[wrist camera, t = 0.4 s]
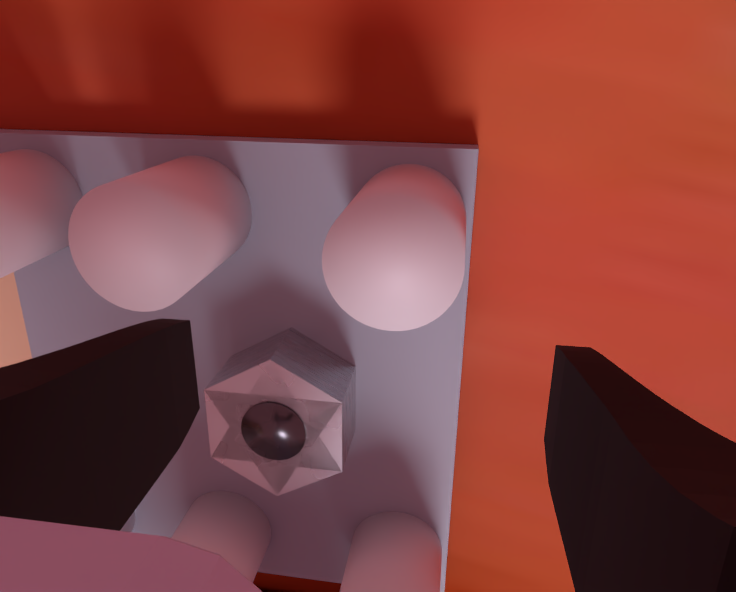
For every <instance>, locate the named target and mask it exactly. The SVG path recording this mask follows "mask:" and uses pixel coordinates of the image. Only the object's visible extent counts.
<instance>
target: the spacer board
mask: <svg viewBox="0 0 736 592" xmlns="http://www.w3.org/2000/svg"><path fill="white" fill-rule="evenodd" d="M478 150H479V149H478V145H471V144H441V143H411V142H381V141H351V140H321V139H291V138H260V137H230V136H200V135H170V134H140V133H110V132H80V131H50V130H20V129H0V368H1V367H5V366H8V365H12V364H16V363H19V362H22V361H25V360H29V359H32V358H35V357H38V356H41V355H44V354H48V353H51V352H54V351H57V350H60V349H63V348H67V347H70V346H73V345H76V344H79V343H81V342H84V341H87V340H90V339H93V338H96V337H99V336H102V335H105V334H108V333H111V332H114V331H117V330H119V329H123V328H126V327H129V326H132V325H135V324H139V323H142V322H146V321H150V320H155V319H161V318H164V319H179V320H190V324H191V333H192V342H193V351H194V359H195V368H196V377H197V386H198V395H199V404H200V409H199V411H198V413H197V415H196V417H195V419H194V421H193V423H192V426H191V428H190V430H189V432H188V433H187V435H186V437H185V439H184V441H183V443H182V445H181V447H180V448H179V450H178V451H177V452H176V454H175V455H174V457H173V458H172V460H171V461H170V462H169V464H168V465H167V467H166V468H165V469H164V471H163V472H162V474H161V475H160V477H159V478H158V479H157V481H156V482H155V483H154V485H153V486H152V488H151V489H150V490H149V492H148V493H147V494H146V496H145V497H144V499H143V500H142V501H141V503H140V504H139V505H138V507H137V508H136V509H135V511H134V512H133V514H132V515H131V516H130V518H129V519H128V520H127V522H126V523H125V525H124V526H123V527H122V529H121V530H120V531H125V532H133V533H141V534H149V535H157V536H165V537H169V538H172V539H175V540H178V541H181V542H184V543H187V544H190V545H193V546H196V547H199V548H202V549H205V550H208V551H211V552H214V553H217V554H220V555H221V556H222V557H223V558H224V559H225V560H227V561H228V562H229V563H230V564H231V565H232V566H233V567H235V568H236V569H237V570H238V571H239V572H240V573H242V574H243V575H244V576H245V577H246V578H247V579H248V580H250V581H251V582H252V583H253V581H254V579H255V576H256V574H257V572H261V573H269V574H276V575H283V576H290V577H298V578H305V579H312V580H319V581H327V582H334V583H341V588H340V592H444V589H445V576H446V564H447V551H448V538H449V525H450V512H451V499H452V486H453V473H454V460H455V447H456V434H457V421H458V408H459V395H460V382H461V370H462V357H463V344H464V331H465V318H466V305H467V292H468V279H469V266H470V253H471V240H472V227H473V214H474V201H475V188H476V176H477V163H478ZM290 327H293V328H294V329H296V330H297V331H299V332H301V333H302V334H304V335H306V336H307V337H309V338H311V339H312V340H314V341H316V342H317V343H319V344H320V345H322V346H324V347H325V348H327V349H329V350H330V351H332V352H334V353H335V354H337V355H339V356H340V357H342V358H344V359H345V360H347V361H348V362H350V363H352V364H353V365H355V366H356V421H355V433H354V436H353V439H352V442H351V445H350V449H349V452H348V455H347V458H346V461H345V465H344V468H343V471H342V472H340V473H338V474H335V475H332V476H330V477H327V478H324V479H322V480H319V481H316V482H314V483H311V484H308V485H306V486H303V487H300V488H298V489H295V490H292V491H290V492H287V493H284V494H281V495H279V496H276V495H275V494H273V493H271V492H269V491H268V490H266V489H264V488H263V487H261V486H259V485H257V484H256V483H254V482H252V481H251V480H249V479H247V478H246V477H244V476H242V475H240V474H239V473H237V472H235V471H234V470H232V469H230V468H229V467H227V466H225V465H223V464H222V463H220V462H218V461H217V460H215V459H213V458H211V453H210V443H209V433H208V423H207V414H206V404H205V394H204V389H205V388H206V387H207V386H208V384H209V383H210V382H211V381H212V379H213V378H214V377H215V376H216V374H217V373H218V372H219V371H220V369H221V368H222V367H223V366H224V364H225V363H226V362H227V361H228V359H229V358H230V357H231V356H232V355H233V354H235V353H237V352H240V351H242V350H244V349H246V348H248V347H250V346H252V345H254V344H257V343H259V342H261V341H263V340H265V339H267V338H269V337H271V336H273V335H276V334H278V333H280V332H282V331H284V330H286V329H288V328H290Z"/></svg>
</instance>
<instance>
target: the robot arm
mask: <svg viewBox="0 0 736 592" xmlns="http://www.w3.org/2000/svg"><path fill="white" fill-rule="evenodd" d="M199 409H200V404H199V395H198V386H197V377H196V368H195V359H194V351H193V342H192V333H191V324H190V320H179V319H164V318H161V319H155V320H150V321H146V322H142V323H139V324H135V325H132V326H129V327H126V328H123V329H119V330H117V331H114V332H111V333H108V334H105V335H102V336H99V337H96V338H93V339H90V340H87V341H84V342H81V343H79V344H76V345H73V346H70V347H67V348H63V349H60V350H57V351H54V352H51V353H48V354H44V355H41V356H38V357H35V358H32V359H29V360H25V361H22V362H19V363H16V364H12V365H8V366H5V367H1V368H0V592H262V591H261V590H260V589H259V588H258V587H257V586H255V585H254V584H253V583H252V582H251V581H250V580H248V579H247V578H246V577H245V576H244V575H243V574H242V573H240V572H239V571H238V570H237V569H236V568H235V567H233V566H232V565H231V564H230V563H229V562H228V561H227V560H225V559H224V558H223V557H222V556H221V555H220V554H217V553H214V552H211V551H208V550H205V549H202V548H199V547H196V546H193V545H190V544H187V543H184V542H181V541H178V540H175V539H172V538H169V537H165V536H157V535H149V534H141V533H133V532H125V531H120V530H121V529H122V527H123V526H124V525H125V523H126V522H127V520H128V519H129V518H130V516H131V515H132V514H133V512H134V511H135V509H136V508H137V507H138V505H139V504H140V503H141V501H142V500H143V499H144V497H145V496H146V494H147V493H148V492H149V490H150V489H151V488H152V486H153V485H154V483H155V482H156V481H157V479H158V478H159V477H160V475H161V474H162V472H163V471H164V469H165V468H166V467H167V465H168V464H169V462H170V461H171V460H172V458H173V457H174V455H175V454H176V452H177V451H178V450H179V448H180V447H181V445H182V443H183V441H184V439H185V437H186V435H187V433H188V432H189V430H190V428H191V426H192V423H193V421H194V419H195V417H196V415H197V413H198V411H199ZM544 443H545V454H546V464H547V473H548V482H549V487H550V491H551V496H552V500H553V504H554V508H555V512H556V516H557V520H558V524H559V528H560V532H561V536H562V540H563V544H564V548H565V552H566V556H567V560H568V564H569V568H570V572H571V576H572V580H573V584H574V588H575V592H736V443H735V442H733V441H731V440H729V439H727V438H725V437H723V436H721V435H720V434H718V433H716V432H714V431H712V430H710V429H709V428H707V427H705V426H703V425H702V424H700V423H698V422H697V421H695V420H694V419H692V418H690V417H689V416H687V415H686V414H684V413H683V412H681V411H679V410H678V409H676V408H675V407H673V406H672V405H670V404H669V403H667V402H666V401H664V400H663V399H661V398H660V397H658V396H657V395H655V394H654V393H653V392H651V391H650V390H648V389H647V388H646V387H644V386H643V385H642V384H640V383H639V382H637V381H636V380H635V379H633V378H632V377H631V376H629V375H628V374H627V373H625V372H624V371H623V370H621V369H620V368H619V367H618V366H616V365H615V364H614V363H612V362H611V361H610V360H608V359H607V358H606V357H604V356H603V355H601V354H600V353H599V352H597V351H595V350H594V349H592V348H590V347H575V346H560V345H556V349H555V357H554V365H553V373H552V381H551V389H550V396H549V404H548V412H547V420H546V428H545V436H544Z"/></svg>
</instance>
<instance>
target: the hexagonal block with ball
mask: <svg viewBox="0 0 736 592" xmlns="http://www.w3.org/2000/svg"><path fill="white" fill-rule="evenodd" d="M204 394H205V404H206V414H207V423H208V433H209V443H210V453H211V458H213V459H215V460H217V461H218V462H220V463H222V464H223V465H225V466H227V467H229V468H230V469H232V470H234V471H235V472H237V473H239V474H240V475H242V476H244V477H246V478H247V479H249V480H251V481H252V482H254V483H256V484H257V485H259V486H261V487H263V488H264V489H266V490H268V491H269V492H271V493H273V494H275V495H276V496H279V495H281V494H284V493H287V492H290V491H292V490H295V489H298V488H300V487H303V486H306V485H308V484H311V483H314V482H316V481H319V480H322V479H324V478H327V477H330V476H332V475H335V474H338V473H340V472H342V471H343V468H344V465H345V461H346V458H347V455H348V452H349V449H350V445H351V442H352V439H353V436H354V433H355V421H356V366H355V365H353V364H352V363H350V362H348V361H347V360H345V359H344V358H342V357H340V356H339V355H337V354H335V353H334V352H332V351H330V350H329V349H327V348H325V347H324V346H322V345H320V344H319V343H317V342H316V341H314V340H312V339H311V338H309V337H307V336H306V335H304V334H302V333H301V332H299V331H297V330H296V329H294V328H293V327H290V328H288V329H286V330H284V331H282V332H280V333H278V334H276V335H273V336H271V337H269V338H267V339H265V340H263V341H261V342H259V343H257V344H254V345H252V346H250V347H248V348H246V349H244V350H242V351H240V352H237V353H235V354H233V355H232V356H231V357H230V358H229V359H228V361H227V362H226V363H225V364H224V366H223V367H222V368H221V369H220V371H219V372H218V373H217V374H216V376H215V377H214V378H213V379H212V381H211V382H210V383H209V384H208V386H207V387H206V388H205V389H204Z"/></svg>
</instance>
